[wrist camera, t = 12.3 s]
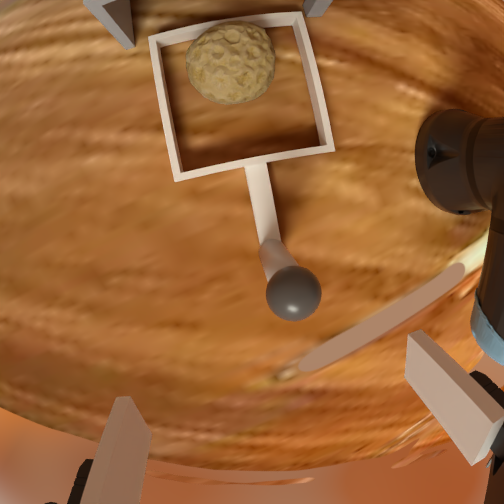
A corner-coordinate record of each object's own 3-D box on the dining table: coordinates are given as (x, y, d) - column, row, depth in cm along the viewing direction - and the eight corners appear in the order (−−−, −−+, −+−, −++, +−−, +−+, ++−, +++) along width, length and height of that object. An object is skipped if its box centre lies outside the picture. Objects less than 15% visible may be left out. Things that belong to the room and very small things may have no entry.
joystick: (152, 44, 29) (112, -19, 15) (296, 19, 30) (335, -48, 15) (203, 282, 38) (190, 353, 23) (342, 251, 38) (404, 301, 23)
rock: (277, 74, 35) (297, 15, 26) (253, 135, 32) (273, 69, 23) (206, 55, 35) (212, -6, 25) (170, 112, 31) (166, 44, 22)
